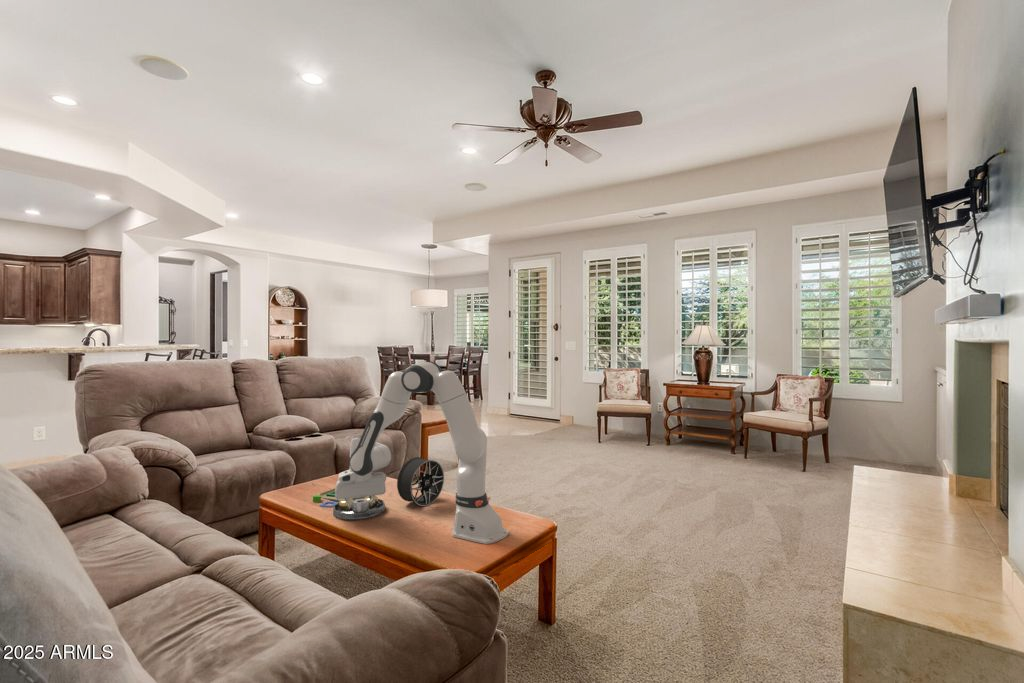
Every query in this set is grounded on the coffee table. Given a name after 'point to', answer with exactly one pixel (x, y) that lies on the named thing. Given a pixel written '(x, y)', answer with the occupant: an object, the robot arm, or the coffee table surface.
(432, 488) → the wheel rim
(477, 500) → the robot arm
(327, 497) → the shape sorter
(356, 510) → the planet gear
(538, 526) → the coffee table surface
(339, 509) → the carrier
